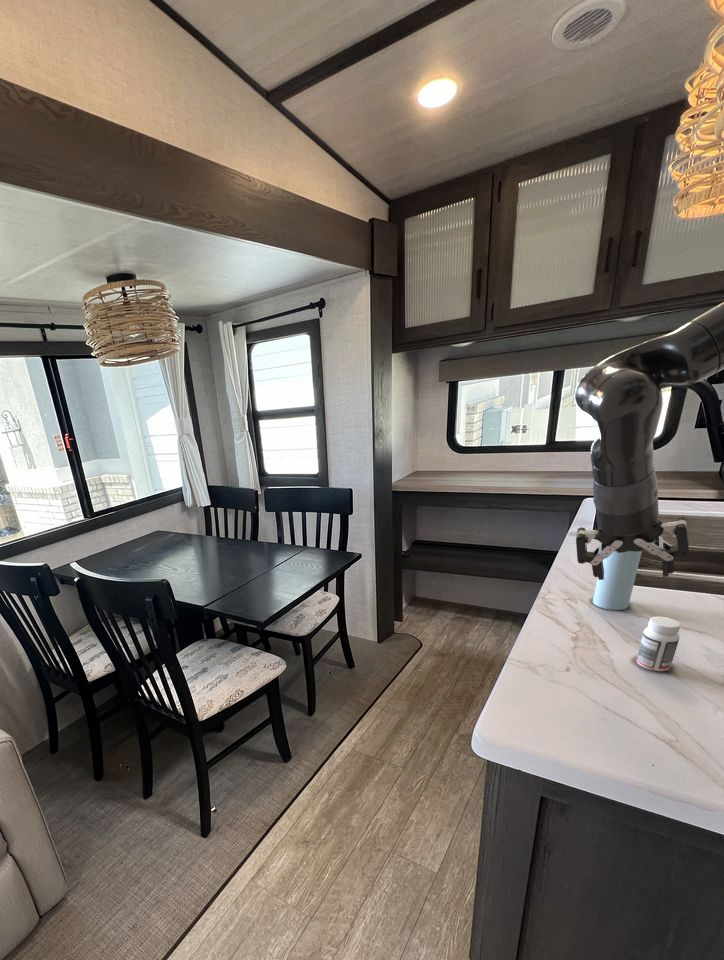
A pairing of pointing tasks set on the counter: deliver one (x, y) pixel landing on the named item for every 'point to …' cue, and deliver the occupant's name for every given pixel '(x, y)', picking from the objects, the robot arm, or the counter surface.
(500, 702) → the counter surface
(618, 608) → the water bottle
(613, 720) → the counter surface
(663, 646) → the pill bottle
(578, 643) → the counter surface
